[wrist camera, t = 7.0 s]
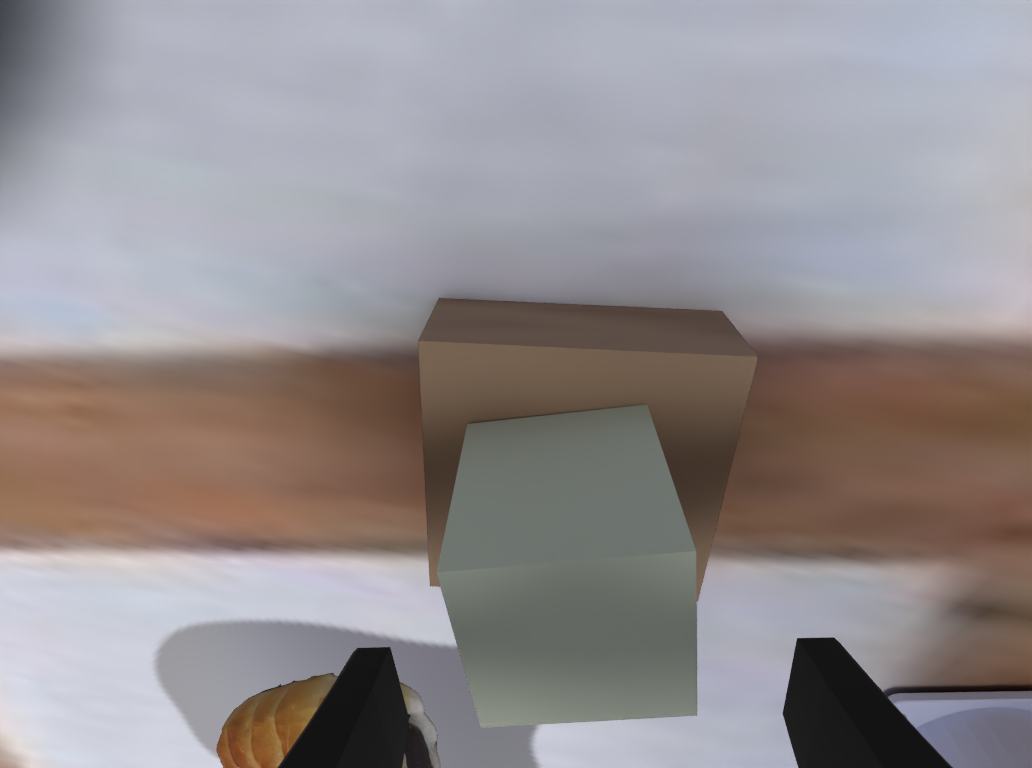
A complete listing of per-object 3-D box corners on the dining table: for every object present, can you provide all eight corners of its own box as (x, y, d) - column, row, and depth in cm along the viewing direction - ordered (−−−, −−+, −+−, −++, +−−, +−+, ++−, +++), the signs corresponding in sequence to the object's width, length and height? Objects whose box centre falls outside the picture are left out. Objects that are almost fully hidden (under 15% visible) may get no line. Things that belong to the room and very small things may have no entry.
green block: (654, 542, 16) (696, 715, 12) (496, 555, 17) (481, 727, 12) (647, 404, 14) (695, 550, 10) (467, 423, 15) (436, 573, 10)
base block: (674, 522, 20) (697, 601, 17) (447, 510, 21) (429, 585, 17) (718, 306, 17) (758, 357, 14) (441, 293, 17) (418, 341, 14)
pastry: (267, 767, 28) (229, 861, 25) (205, 675, 25) (151, 767, 22) (454, 750, 27) (441, 846, 23) (411, 651, 24) (390, 745, 20)
